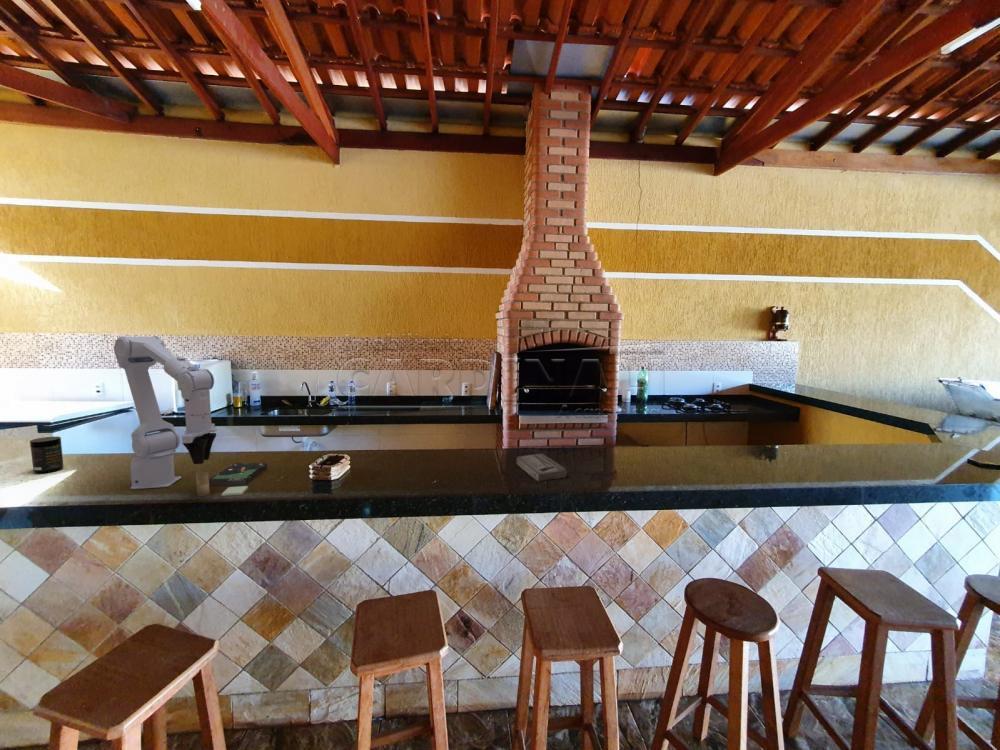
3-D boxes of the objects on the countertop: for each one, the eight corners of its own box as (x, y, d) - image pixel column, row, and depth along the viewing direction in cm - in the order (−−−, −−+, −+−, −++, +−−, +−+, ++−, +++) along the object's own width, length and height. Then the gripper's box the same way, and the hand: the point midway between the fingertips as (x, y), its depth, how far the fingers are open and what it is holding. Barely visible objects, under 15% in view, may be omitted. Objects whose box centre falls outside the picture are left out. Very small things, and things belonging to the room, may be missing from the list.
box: (542, 460, 151) (542, 452, 151) (567, 477, 135) (567, 468, 135) (515, 464, 147) (515, 456, 147) (538, 483, 131) (538, 473, 131)
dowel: (195, 496, 116) (194, 475, 115) (200, 492, 118) (198, 472, 118) (206, 495, 116) (205, 474, 116) (211, 491, 119) (210, 471, 118)
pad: (221, 495, 116) (221, 493, 116) (228, 489, 121) (228, 487, 121) (241, 494, 117) (241, 492, 117) (248, 487, 122) (247, 485, 122)
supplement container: (70, 467, 137) (67, 436, 136) (50, 474, 131) (46, 441, 130) (47, 467, 137) (44, 436, 136) (26, 474, 130) (22, 442, 129)
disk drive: (234, 471, 138) (209, 487, 123) (234, 462, 138) (208, 478, 123) (267, 470, 139) (246, 486, 125) (267, 462, 139) (245, 477, 124)
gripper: (202, 419, 109) (205, 469, 110) (225, 408, 123) (227, 453, 124) (171, 419, 107) (175, 470, 109) (198, 409, 121) (201, 454, 123)
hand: (201, 461), depth 116 cm, fingers open, 3 cm apart
